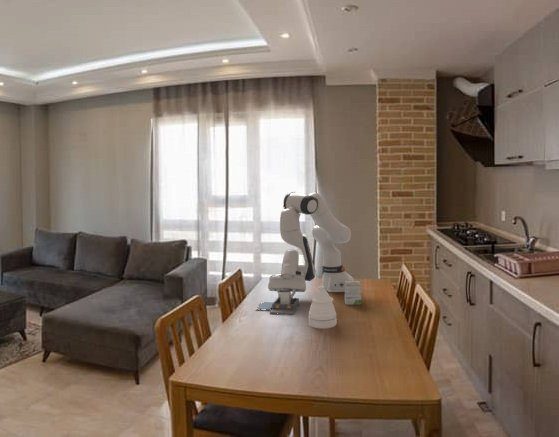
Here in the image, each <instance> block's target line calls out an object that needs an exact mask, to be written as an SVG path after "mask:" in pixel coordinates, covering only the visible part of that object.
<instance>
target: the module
mask: <svg viewBox="0 0 559 437" xmlns="http://www.w3.org/2000/svg"><path fill="white" fill-rule="evenodd" d="M290 294H292V292H291V289H290V288H281V290H280V302H281V304H291V299H290Z"/></svg>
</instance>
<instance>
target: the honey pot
mask: <svg viewBox="0 0 559 437" xmlns="http://www.w3.org/2000/svg"><path fill="white" fill-rule="evenodd" d="M333 302H334V298H333V297H332V296H330V294H329V293H328V291H326V290H325V289H324V286H321V285H319V286H318V289H317V291H316V292H315V294H314V296H313V297H312V298H311V304H310V308H309V311H308V325H309V326H310V327H312V328H316V329H330V328H334V327H335V326H337V320H338V319H337V311H336V308H335V305H334V304H333Z"/></svg>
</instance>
